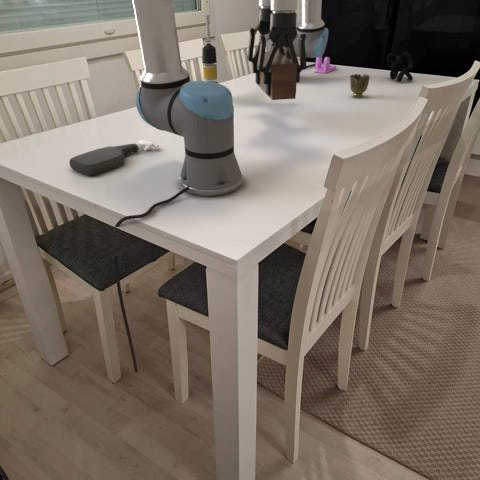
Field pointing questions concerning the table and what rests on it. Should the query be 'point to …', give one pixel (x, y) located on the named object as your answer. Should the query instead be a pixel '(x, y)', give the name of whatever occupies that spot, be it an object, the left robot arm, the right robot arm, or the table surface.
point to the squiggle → (399, 66)
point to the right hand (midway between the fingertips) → (269, 82)
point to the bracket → (324, 65)
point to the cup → (359, 84)
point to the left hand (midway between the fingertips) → (280, 93)
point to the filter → (209, 57)
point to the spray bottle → (106, 157)
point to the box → (281, 77)
